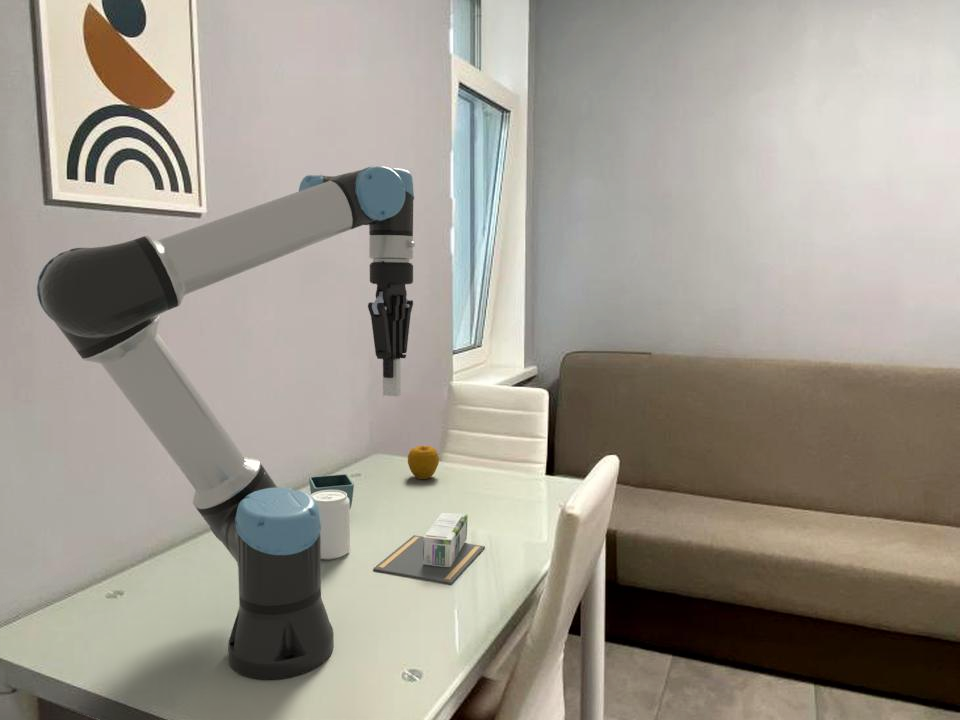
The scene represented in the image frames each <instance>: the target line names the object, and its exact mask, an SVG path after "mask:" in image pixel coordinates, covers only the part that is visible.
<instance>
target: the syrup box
mask: <svg viewBox="0 0 960 720" xmlns="http://www.w3.org/2000/svg"><path fill="white" fill-rule="evenodd" d="M467 535H468V514H463V513H452V512H451V513H450V512H449V513H448V512H441V513H440V514H439V515H438V517H437V519H436V520H435V521H434V523H433V524H432V525H431V527H429V529H428V530H427V532H426V534H425V535H424V536H423V537H424V543H423V565H431V566H439V567H451V566H452V564H453V562H454V560H455V559H456V557H457V555H458V554H459V552H460V550H461V548H462V547H463V545H464V543H466V541H467Z"/></svg>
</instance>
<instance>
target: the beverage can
mask: <svg viewBox="0 0 960 720" xmlns="http://www.w3.org/2000/svg"><path fill="white" fill-rule="evenodd" d="M310 496H312V497H313V498H314V499H315V501H316V502H317V504H318V507H319V515H320V518H321V519H320V520H321V532H320V536H321V560H336V559H339V558H341V557H343V556H345V555H347V554H348V553H349V552H350V551H351V527H350V526H351V516H350V515H351V513H350V512H351V508H350V501H349V498H348V497H347V493H346V492H344V491H340V490H322V491H318V492H315V493H313V494H311V493H310Z"/></svg>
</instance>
